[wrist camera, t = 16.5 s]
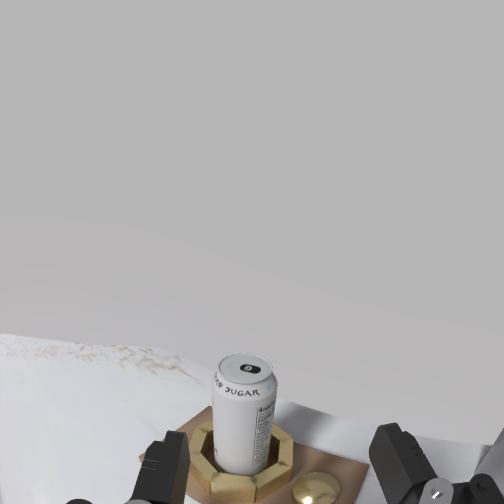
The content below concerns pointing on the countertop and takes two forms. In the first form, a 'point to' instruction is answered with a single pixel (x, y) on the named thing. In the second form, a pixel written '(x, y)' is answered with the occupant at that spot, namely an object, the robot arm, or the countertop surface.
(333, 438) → the countertop surface
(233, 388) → the energy drink can
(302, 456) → the walnut carrier plate
